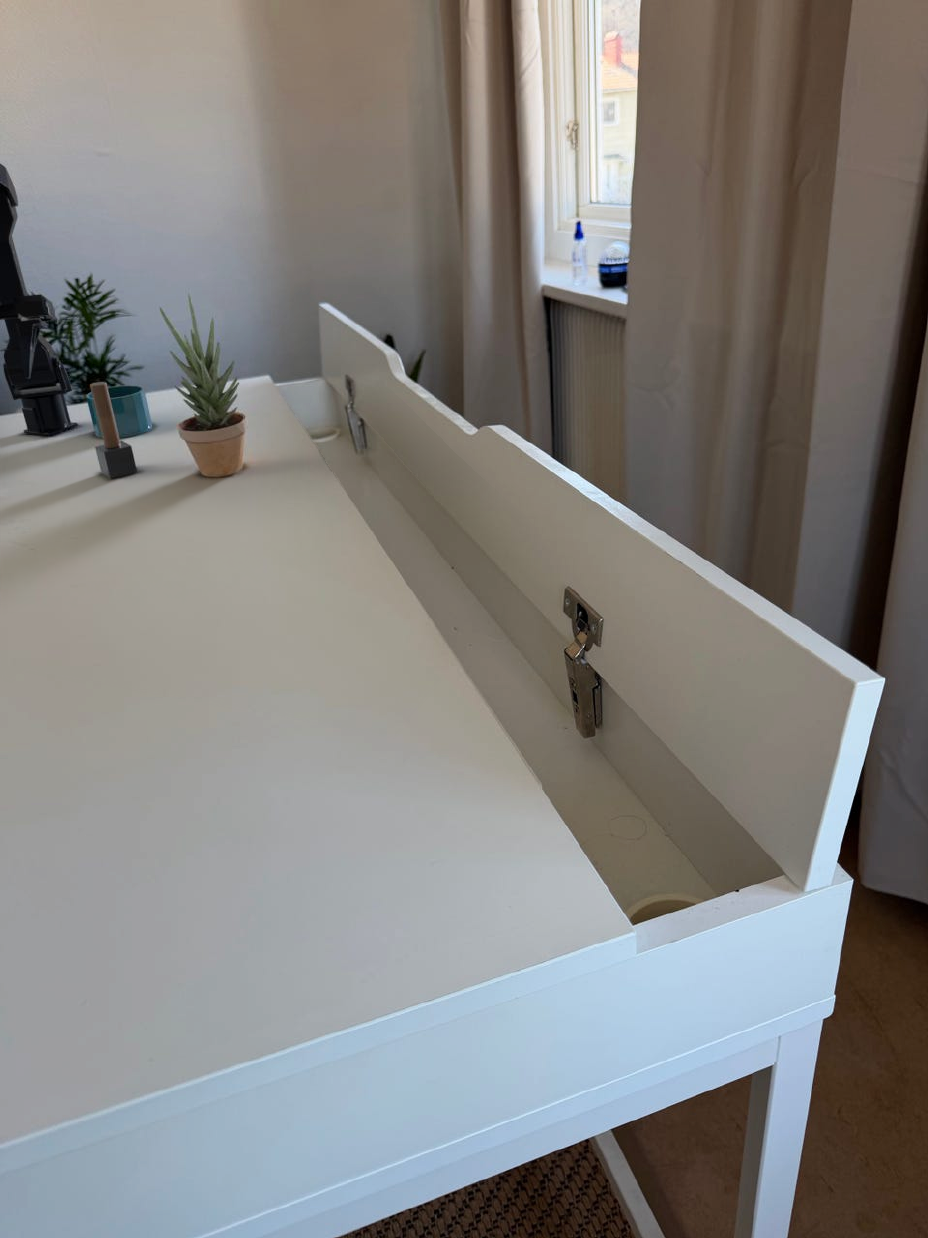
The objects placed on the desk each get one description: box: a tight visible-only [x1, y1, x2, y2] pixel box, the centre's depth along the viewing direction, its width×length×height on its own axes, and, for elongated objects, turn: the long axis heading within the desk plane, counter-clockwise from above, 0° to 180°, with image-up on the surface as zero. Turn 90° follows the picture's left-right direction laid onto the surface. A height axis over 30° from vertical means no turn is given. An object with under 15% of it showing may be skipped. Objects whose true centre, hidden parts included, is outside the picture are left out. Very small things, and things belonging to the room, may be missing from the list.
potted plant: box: [158, 292, 249, 478], centre depth 130 cm, size 10×10×25 cm
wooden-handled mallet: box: [89, 381, 138, 480], centre depth 135 cm, size 4×4×13 cm
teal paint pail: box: [85, 384, 153, 439], centre depth 157 cm, size 9×9×6 cm
